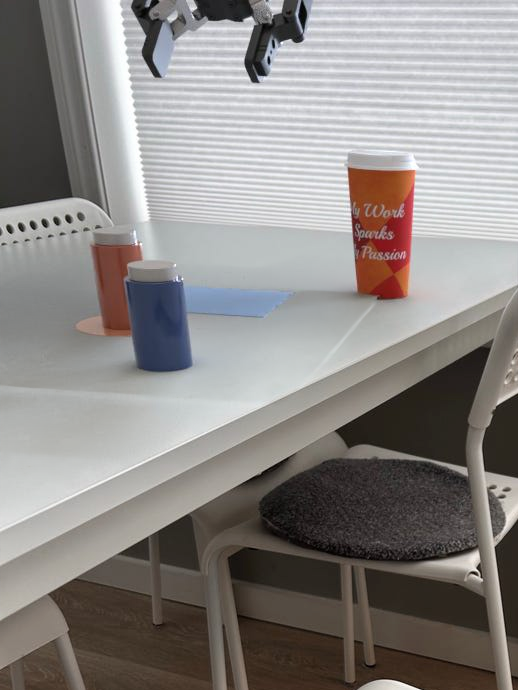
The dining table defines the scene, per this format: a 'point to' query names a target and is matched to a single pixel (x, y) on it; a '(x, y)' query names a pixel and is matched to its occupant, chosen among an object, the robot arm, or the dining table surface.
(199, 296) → the blue mat
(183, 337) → the blue shaker
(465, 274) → the dining table surface
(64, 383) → the dining table surface
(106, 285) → the red shaker
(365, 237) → the paper cup
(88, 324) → the terracotta coaster
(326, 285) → the dining table surface
